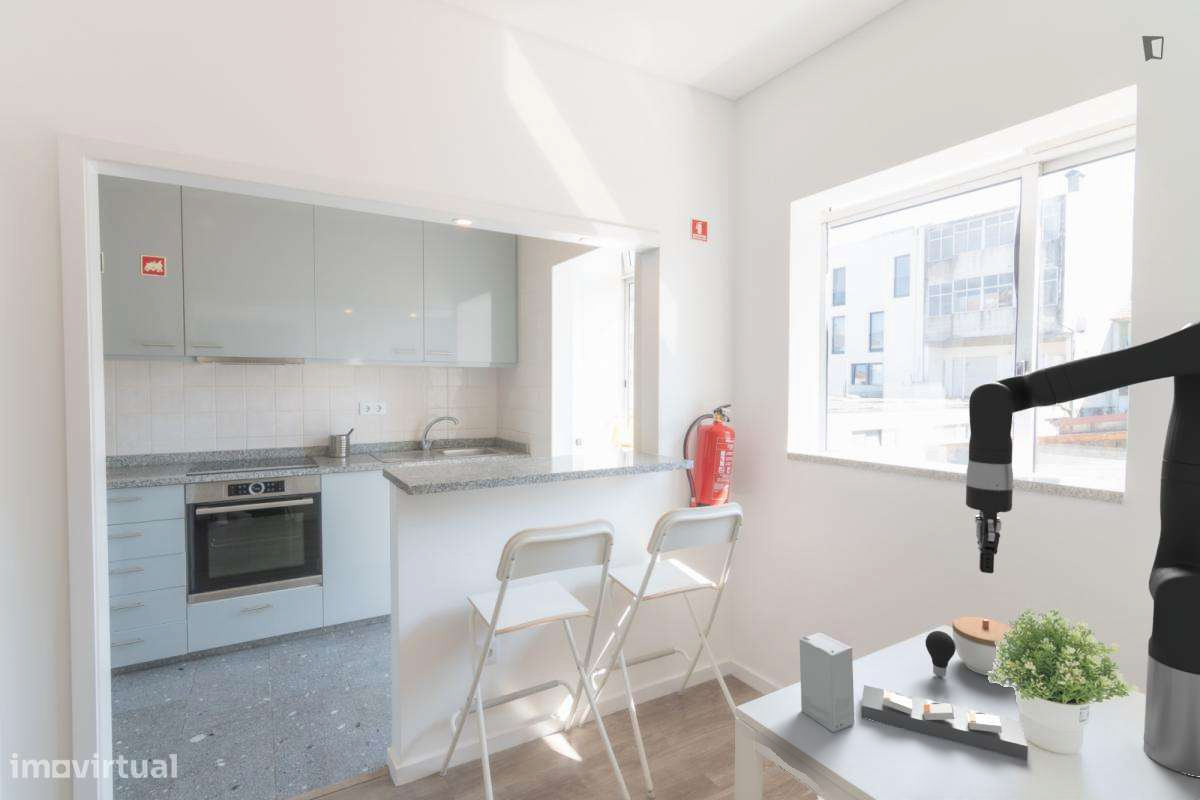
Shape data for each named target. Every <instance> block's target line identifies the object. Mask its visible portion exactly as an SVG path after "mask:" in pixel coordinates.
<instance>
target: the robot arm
mask: <svg viewBox="0 0 1200 800" xmlns="http://www.w3.org/2000/svg"><path fill="white" fill-rule="evenodd" d="M1171 377H1173V400H1172V401H1173V402H1172V408H1171V412H1170V416H1169V421H1168V423H1167V425H1168V426H1167V430H1166V436H1165V440H1164V448H1163V453H1162V462H1161V470H1160V471H1161V473H1160V489H1159V492H1160V493H1159V513H1160V514H1159V515H1160V531H1159V539H1158V544H1157V549H1156V552H1155V557H1154V561H1153V564H1152V566H1151V567H1152V568H1151V571H1150V574H1149V579H1148V590H1149V593H1150V597H1151V598H1152V600H1153V611H1152V612H1153V613H1152V625H1151V626H1152V627H1151V634H1150V635H1151V636H1150V637H1149V639H1148V643H1147V644H1148V645H1147V665H1146V666H1147V667H1146V689H1145V690H1146V691H1145V708H1144V710H1145V711H1144V730H1143V731H1144V732H1143V751H1144V752H1145V754H1146V755H1147V756H1148V757H1150V758H1151V759H1152V760H1154V761H1155V762H1156V763H1158V764H1160V765H1161V766H1163V767H1166V768H1168V769H1169V768H1170V770H1172V769H1173V770H1172V771H1174V770H1175V771H1174V772H1177V771H1179V772H1183V773H1186V774H1190V775H1194V776H1200V318H1198V319H1196V320H1193V321H1191V322H1189V323H1187V324H1186V325H1184V326H1183V327H1182V328H1180V329H1179V330H1178V331H1174V332H1172V333H1171V334H1170V333H1169V334H1167V335H1164V336H1162V337H1159V338H1157V339H1154V340H1151V341H1150V340H1149V341H1148V342H1144V343H1141V344H1137V345H1134V346H1129V347H1127V348H1123V349H1118V350H1114V351H1113V350H1112V351H1109V352H1104V353H1100V354H1094V355H1090V356H1086V357H1081V358H1077V359H1072V360H1068V361H1064V362H1061V363H1057V364H1053V365H1049V366H1046V367H1043V368H1039V369H1035V370H1033V371H1030V372H1028V373H1025V374H1020V375H1016V376H1011V377H1007V378H1003V379H998V380H995V381H994V380H993V381H990V382H989V381H988V382H986V383H985V382H984V383H981V384H980V385H979V386H977V387H975V388H974V389H973V391H972V392H971V393H970V396H969V401H968V403H969V404H968V408H969V409H968V411H969V412H968V413H969V431H970V436H969V442H968V463H967V468H966V485H965V486H966V487H965V488H966V489H965V504H966V506H967V507H968V508H969V509H972V510H976V511H979V512H978V513H979V515H975V517H974V523H975V526H976V529H975V530H976V532H975V533H976V534H975V535H976V538H977V542H976V543H977V545H978V548H977V549H978V551H979V563H978V564H979V565H978V566H979V567H978V568H979V570H980V572H981V573H984V574H985V573H986V574H994V571H995V570H994V569H995V556H996V555H997V553H998V548H999V543H1000V538H1001V534H1000V531H1001V530H1002V520H1000V517H998V514H999V513H1007V512H1010V511H1011V510H1012V509H1013V493H1014V491H1013V489H1014V488H1013V487H1014V472H1013V439H1012V433H1011V432H1012V425H1013V414H1014V413H1017V412H1018V413H1019V412H1022V411H1025V410H1029V409H1033V408H1036V407H1037V408H1038V407H1048V406H1054V405H1055V406H1056V405H1058V404H1059V405H1060V404H1064V403H1068V402H1072V401H1076V400H1080V399H1084V398H1088V397H1091V396H1096V395H1099V394H1103V393H1106V392H1110V391H1114V390H1117V389H1121V388H1125V387H1129V386H1133V385H1136V384H1141V383H1144V382H1146V383H1147V382H1150V381H1156V380H1161V379H1165V378H1171ZM1179 772H1178V773H1179ZM1186 774H1185V775H1186Z"/></svg>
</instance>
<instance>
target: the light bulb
mask: <svg viewBox="0 0 1200 800" xmlns="http://www.w3.org/2000/svg"><path fill="white" fill-rule="evenodd" d="M925 647H926V650H927V652H928V654H929V656H930V658H931V663H932V672H933V674H934V675H935V676H936V677H937V678H940V679H942V678H944V677H946V676H947V667H948V665H949V662H950V660H951V659H952V658H953V656H954V655H955V653H956V650H955V649H956V648H955V643H954V641H953V637H952V636H951V635H950V634H948V633H946V632H945V631H941V630H934V631H931V632H930V633H929V634H928V635H927V636H926V639H925Z"/></svg>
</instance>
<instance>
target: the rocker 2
mask: <svg viewBox="0 0 1200 800" xmlns="http://www.w3.org/2000/svg"><path fill="white" fill-rule="evenodd" d="M967 715H968V721H969V727H970V729H974V730H983V731H992V732H1000V733H1002V729H1001V724H1000V720H999V715H996V716H993V715H994V714H991V715H983V714H974V713H967Z"/></svg>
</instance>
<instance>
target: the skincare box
mask: <svg viewBox="0 0 1200 800" xmlns="http://www.w3.org/2000/svg"><path fill="white" fill-rule="evenodd" d="M853 661H854V660H853V647H852V646H850V645H847V644H845V643H843V642H842V641H838V640H837V639H834V638H832V637H830V636H828V635H827V634H824V633H822V632H816V633H814V634H810V635H807V636H804V637H802V638H800V639H799V663H800V664H799V665H800V668H799V670H800V699H801V701H800V703H801V706H800V707H801V712H803V713H804V714H806V715H807V716H808V717H810V718H812V719H813V720H814V721H816V722H817V723H819V724H821V725H822V726H824V727H825V729H828V730H829V731H831V732H833V733H834V732H835V733H836V732H837V731H840V730H842V729H846V728H849V727H851V725H852V726H854V725H855V703H854V702H855V701H854V700H855V699H854V695H855V694H854V693H855V692H854V667H853V665H854V664H853Z"/></svg>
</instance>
